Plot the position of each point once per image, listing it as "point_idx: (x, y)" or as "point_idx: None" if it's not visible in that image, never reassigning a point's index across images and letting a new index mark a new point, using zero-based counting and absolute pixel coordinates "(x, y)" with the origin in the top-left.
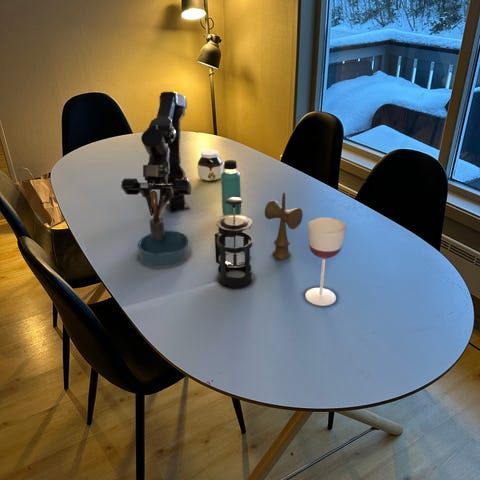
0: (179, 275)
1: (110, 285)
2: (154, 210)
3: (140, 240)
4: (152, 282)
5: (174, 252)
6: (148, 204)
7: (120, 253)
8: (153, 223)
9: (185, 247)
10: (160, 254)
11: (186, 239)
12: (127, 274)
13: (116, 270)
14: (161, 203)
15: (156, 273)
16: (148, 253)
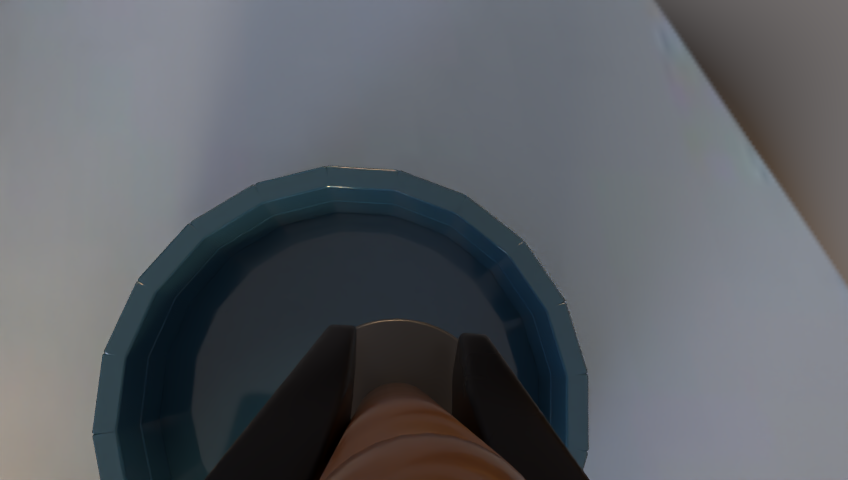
0: (223, 100)
1: (661, 23)
2: (415, 394)
3: (576, 450)
4: (400, 34)
5: (229, 204)
6: (567, 470)
7: (710, 434)
8: (432, 340)
9: (130, 300)
10: (352, 178)
11: (114, 451)
12: (585, 137)
13: (672, 192)
14: (229, 477)
15: (387, 136)
16: (459, 201)
